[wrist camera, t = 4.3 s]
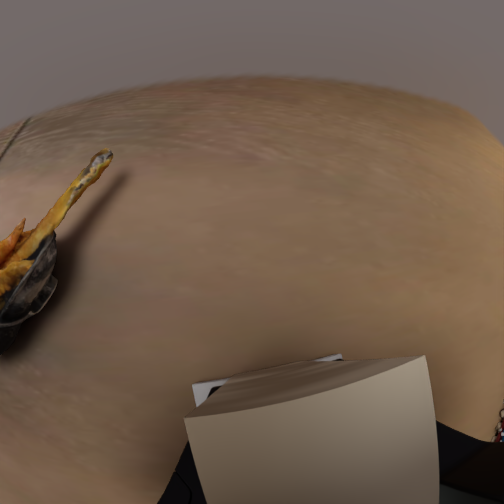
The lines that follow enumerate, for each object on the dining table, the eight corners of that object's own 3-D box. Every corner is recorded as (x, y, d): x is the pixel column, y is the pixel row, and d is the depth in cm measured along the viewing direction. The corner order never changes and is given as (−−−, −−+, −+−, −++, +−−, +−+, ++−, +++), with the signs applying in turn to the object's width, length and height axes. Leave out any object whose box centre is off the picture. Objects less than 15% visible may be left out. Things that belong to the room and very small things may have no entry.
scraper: (332, 351, 16) (509, 309, 4) (344, 404, 14) (519, 458, 2) (196, 379, 15) (48, 417, 3) (208, 433, 14) (111, 573, 2)
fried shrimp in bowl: (-68, 316, 11) (-12, 97, 11) (30, 333, 20) (89, 149, 20) (-69, 392, 6) (-12, 71, 6) (62, 400, 15) (141, 156, 16)
